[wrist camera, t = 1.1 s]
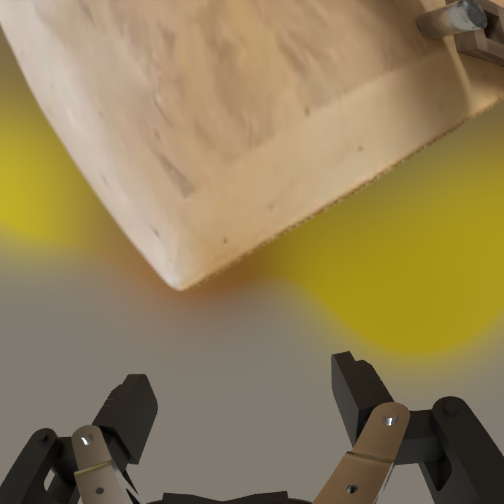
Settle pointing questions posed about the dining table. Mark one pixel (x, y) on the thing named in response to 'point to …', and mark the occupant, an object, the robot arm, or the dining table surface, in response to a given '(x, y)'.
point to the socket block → (484, 35)
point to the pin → (452, 19)
